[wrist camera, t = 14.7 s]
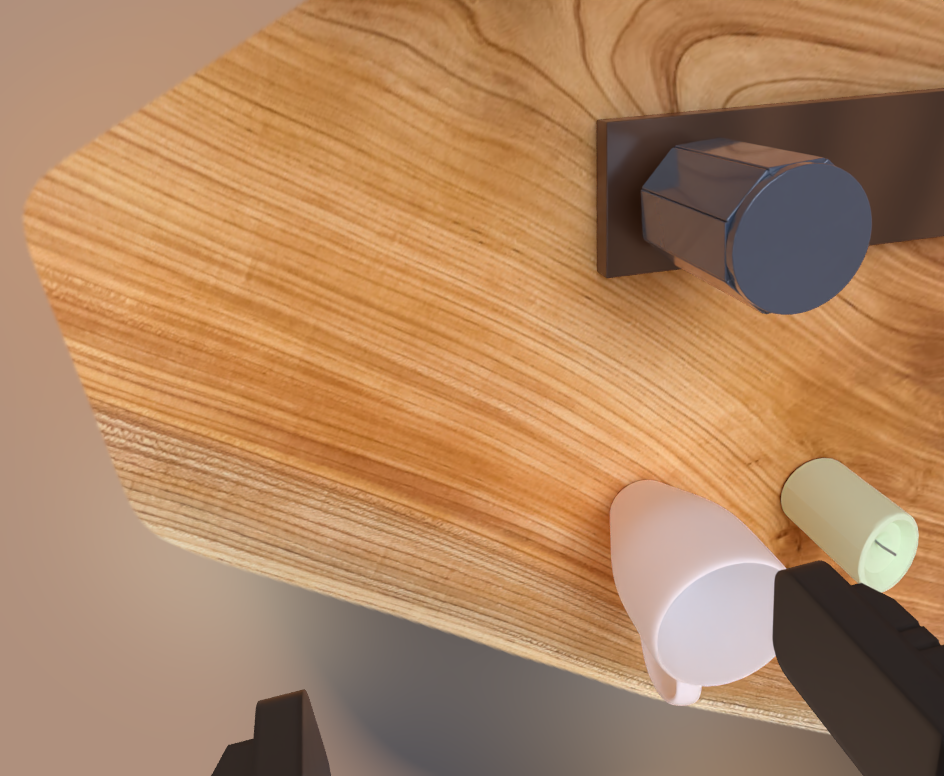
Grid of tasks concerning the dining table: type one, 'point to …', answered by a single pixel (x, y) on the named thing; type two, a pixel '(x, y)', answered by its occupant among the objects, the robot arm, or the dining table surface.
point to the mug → (692, 588)
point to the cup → (758, 222)
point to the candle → (851, 522)
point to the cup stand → (793, 129)
